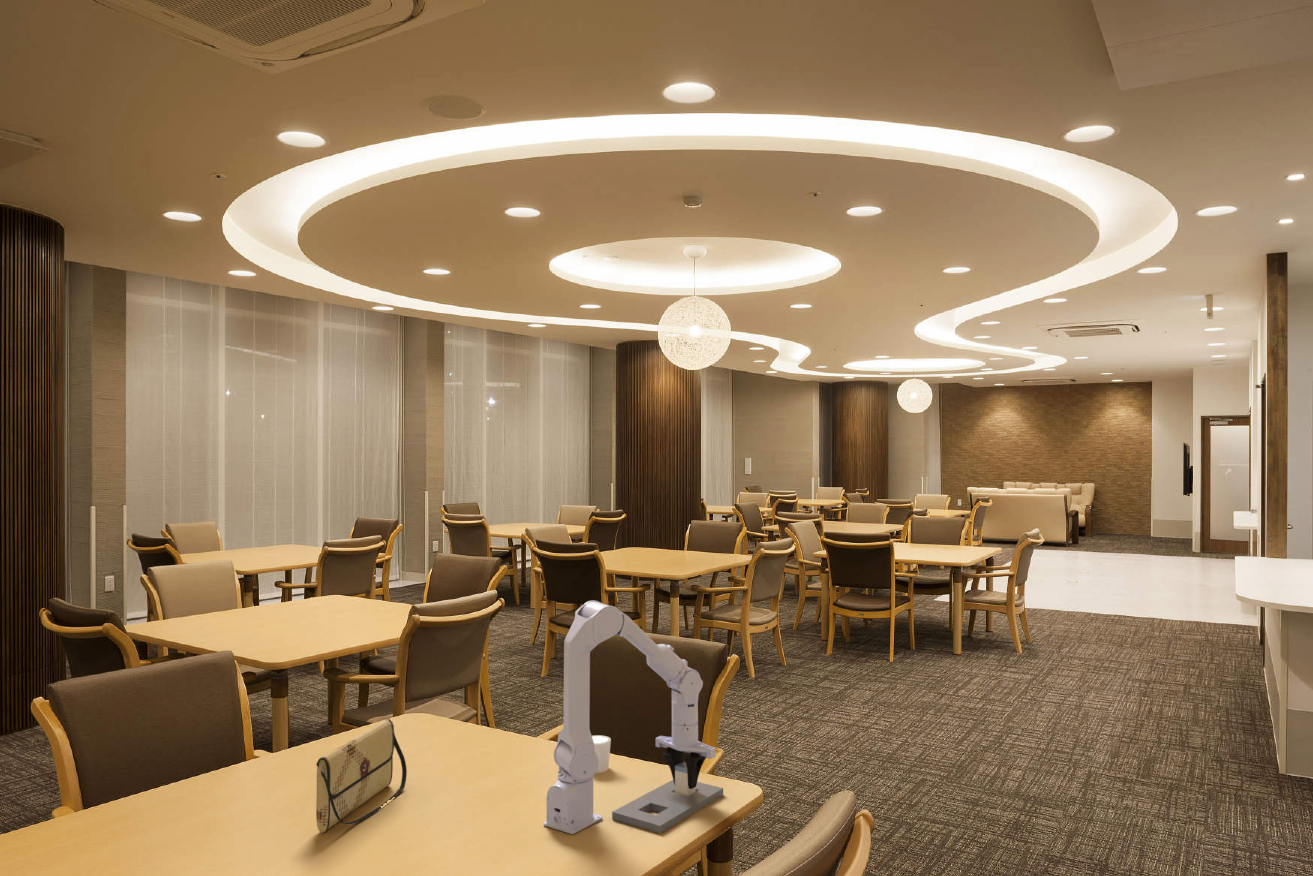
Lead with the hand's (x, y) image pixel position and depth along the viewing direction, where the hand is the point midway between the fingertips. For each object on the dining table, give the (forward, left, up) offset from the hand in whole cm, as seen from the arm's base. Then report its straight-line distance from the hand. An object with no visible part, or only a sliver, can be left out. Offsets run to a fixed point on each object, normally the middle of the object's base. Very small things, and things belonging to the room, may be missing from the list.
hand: (685, 785), depth 182 cm
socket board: (-6, 0, -3) cm, 7 cm away
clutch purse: (-43, +53, -3) cm, 68 cm away
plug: (0, 0, -3) cm, 3 cm away
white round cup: (+3, +28, -3) cm, 28 cm away
